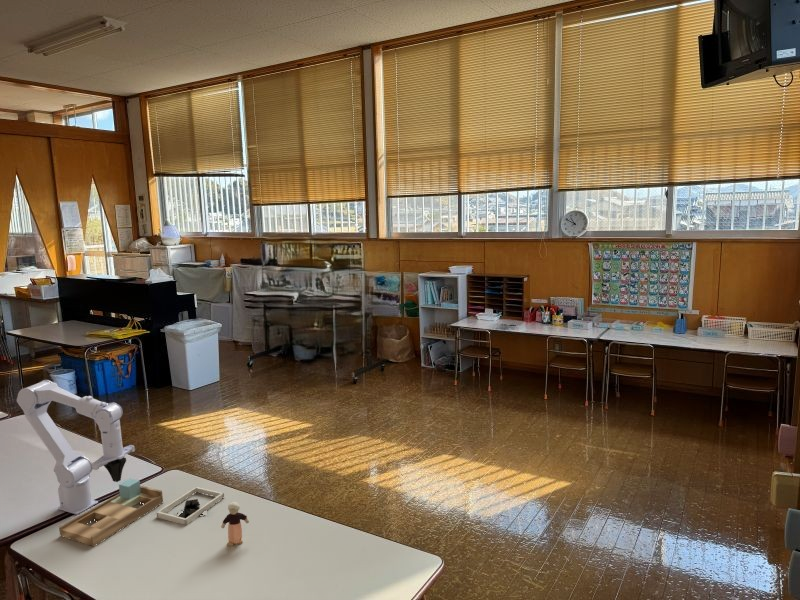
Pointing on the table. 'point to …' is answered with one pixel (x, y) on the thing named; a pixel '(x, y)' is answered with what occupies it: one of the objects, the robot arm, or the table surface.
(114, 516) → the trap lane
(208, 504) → the frame
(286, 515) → the table surface
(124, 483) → the teal block
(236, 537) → the grandmother figurine
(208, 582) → the table surface
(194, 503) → the black angular piece
